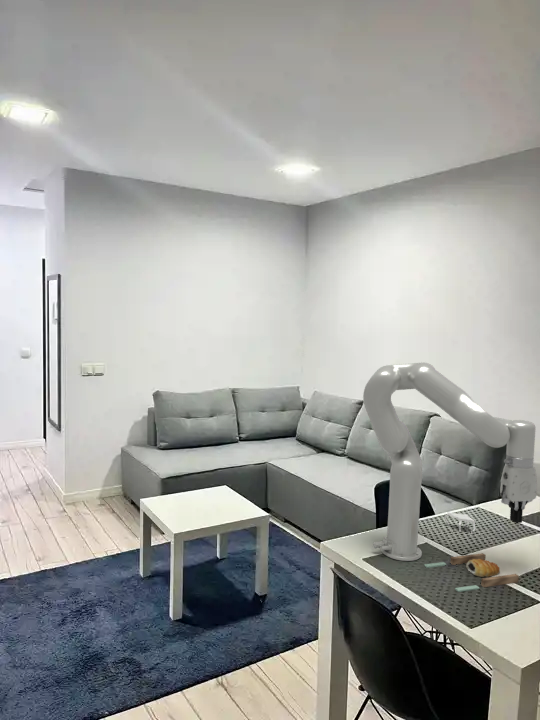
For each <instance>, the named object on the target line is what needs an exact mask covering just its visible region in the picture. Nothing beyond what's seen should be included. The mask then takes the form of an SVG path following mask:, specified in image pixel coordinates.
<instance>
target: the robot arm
mask: <svg viewBox="0 0 540 720" xmlns="http://www.w3.org/2000/svg"><path fill="white" fill-rule="evenodd" d="M403 390H415V391H417V392H418V393H420V394H421V395H422V396H424V397H425V398H426V399H428V400H429V401H430V402H432V403H434V404H435V405H436V406H438V407H439V409H441V410H443V411H444V412H445V413H446V414H448V416H450V417H451V418H452V419H453V420H455V421H456V422H458V423H459V424H460V425H461V426H463V427H464V428H465V429H466V430H468V431H469V432H470V433H471V434H473V436H475V437H477V438H478V439H479V440H481V442H484V444H486V445H487V446H489V447H491V448H496V449H498V448H503V447H505V446H506V452H505V455H506V457H505V458H504V459H503V463H504V464H505V465H504V466H503V469H502V473H501V479H500V488H499V489H500V490H499V492H500V497H501V500H500V502H501V504H504V505H507V506H508V507H509V508H510V511H509V512H510V513H509V521H511V522H512V523H513V522H514V523H515V524H522V523H523V512H524V510H525V509H526V505H528V503H531V502H533V501H534V500H536V498H537V494H538V478H537V471H536V467H535V466H534V461H535V459H534V456H535V442H536V425H535V423H533V422H532V421H529V420H522V419H514V420H512V419H506V418H500V417H495V416H492V415H491V414H490V413H489V412H487V411H486V410H484V409H483V408H482V406H480V405H478V403H477V402H476V401H474V400H473V398H472V396H470V395H469V394H468V393H467V392H466V391H465V390H464V389H462V388H461V387H460V386H458V385H457V384H455V383H454V382H453V381H452V380H450V379H449V378H447V377H446V376H445V375H444V374H442V373H441V372H439V371H438V370H437V369H436V368H435V367H434V366H433V365H432V364H430V363H428V362H414V363H403V364H402V363H401V364H400V363H399V364H390V365H388V364H386V365H383V366H381V367H379V368H378V369H377V370H376V371H375V372H374V373H373V374H372V376H371V377H370V378H369V379H368V381H367V383H366V384H365V387H364V389H363V393H362V394H363V397H362V398H363V400H362V401H363V405H364V408H365V411H366V414H367V416H368V418H369V420H370V424H371V426H372V428H373V431H374V433H375V437H376V438H377V441H378V444H379V446H380V447H381V449H382V450H383V451H384V452H385V453H387V456H388V457H389V461H390V462H391V466H390V471H389V493H388V495H389V496H388V513H387V515H388V516H387V533H386V536H383V540H381V541H373V542H372V547H373V549H379V548H380V550H381V553H382V554H383V555H385V556H386V557H387V558H389V559H393V560H397V561H402V562H412V561H416V560H419V559H420V558H422V554H423V551H422V550H421V548H420V547H418V540H419V538H418V537H419V523H420V521H419V520H420V507H421V493H422V492H421V490H422V481H423V460H422V457H421V455H420V453H419V451H418V449H417V446H416V444H415V441H414V439H413V437H412V434H411V433H410V430H409V428H408V426H407V425H406V423H404V422H403V421H401V420H400V419H399V418H400V417H399V416H398V413H397V411H396V408H395V407H394V404H393V402H392V395H393V394H394V393H395V392H396V391H403Z"/></svg>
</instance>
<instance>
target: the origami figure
mask: <svg viewBox="0 0 540 720" xmlns="http://www.w3.org/2000/svg"><path fill="white" fill-rule="evenodd" d="M449 516H450V517H451V518H454V519H456V520H458V532H459V533H461V532H462V522H465V523H464V525H463V527H465V528H467V529H468V528H469V526H467V525H468V524H470V523H472V526H473V528H472V530H470V533H471V535H474V534H473V532H475V531H476V522H475V520H474V519H473V518H471V517H470V515H469V514H463V513H455V512H447V514H446V515H444V517H443V518H444V520H445V521H446V523H447V525H449V526H450V523H449V521H448V519H447V518H448V517H449Z"/></svg>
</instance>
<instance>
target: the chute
mask: <svg viewBox="0 0 540 720" xmlns="http://www.w3.org/2000/svg"><path fill="white" fill-rule="evenodd" d="M472 559H482V560H486V554H485V553H482V552H481V553H473V554H467V555H459V556H458V555H456V556H451V557H450V560H449V561H450V562H449V563H451V565H452V566H455V565H456V564H457V565H463V563H465V564H467V562H469V560H472ZM457 565H456V566H457ZM519 578H520V576H519V575H518V574H517V573H513V574H512V573H511V574H505V575H498V576H497V575H495V576H489V577H481V582H480V585H481V587H483V588H488V587H494V586H502V585H509V584H515V583H519Z"/></svg>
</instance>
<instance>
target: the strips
mask: <svg viewBox="0 0 540 720" xmlns="http://www.w3.org/2000/svg"><path fill="white" fill-rule="evenodd" d="M445 565H446V566H447V565H448V564H447V563H446V562H444V561H441V562H432V563H424V567H426V569H428V568H429V569H430V568H436V567H444V566H445ZM446 566H445V567H446ZM454 590H455V591H456V592H458V593H461V592H469V591H477V590H480V587H479V586H478V585H476V584H475V585H469V586H468V585H467V586H461V587H459V586H458V587H455V588H454Z"/></svg>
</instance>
